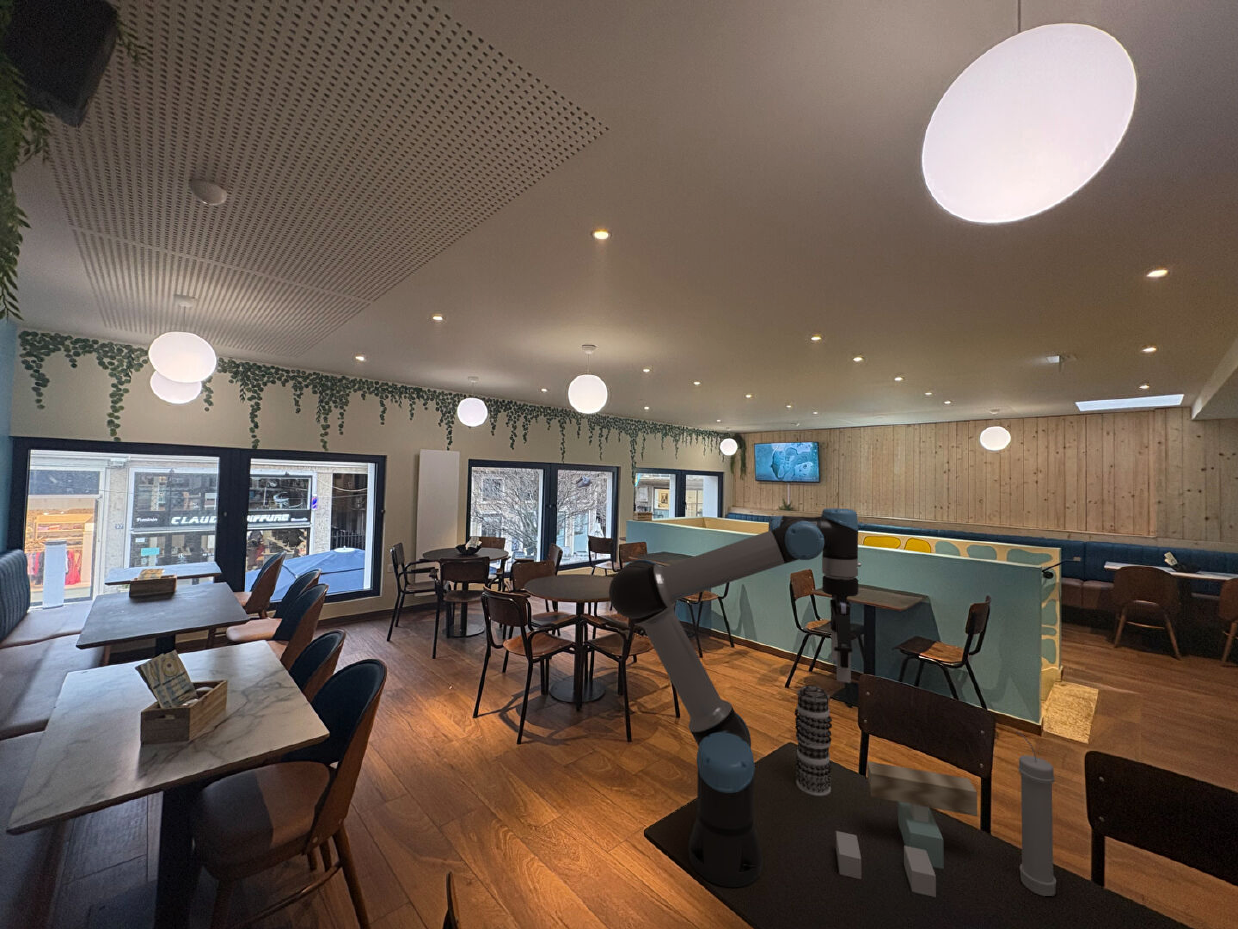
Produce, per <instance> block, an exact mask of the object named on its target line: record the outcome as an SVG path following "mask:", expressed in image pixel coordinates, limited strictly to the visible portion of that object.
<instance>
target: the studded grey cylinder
mask: <svg viewBox="0 0 1238 929" xmlns="http://www.w3.org/2000/svg"><path fill="white" fill-rule="evenodd" d="M796 694H797V705H796V707H795V709H794V716H795V718H794V720H795V726H794V728H795V729H796V732H795V738H796V740H797V750H796V751H797V753H796V756H795V759H796V762H795V764H796V769H795V773H796V776H795V778H796V782H795V783H796V785H797V787H798V788H799V789H800V790H801V791H802V792H803V793H806V794H808V795H811V796H816V797H824V796H828V795H829V794H830V793H831V790H832V787H831V786H832V785H831V784H832V781H831V780H832V774H831V771H832V768H831V765H832V761H831V760H830V753H829V752H830V751H829V750H830V747H831V742H832V737H830V736H832V731H831V729H832V727H833V724H832V723H831V722H832V721H833V719H832V717H831V716H830V707H829V704H830V702H829V700H830V698H831V697H830V695H829V694H828V693H827V692H826V691H825V689H823V688H822V687H820V686H818V685H813V684H806V685H804V686H802V687H801V688H800V689H798V690H797V691H796Z"/></svg>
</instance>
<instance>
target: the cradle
mask: <svg viewBox="0 0 1238 929" xmlns="http://www.w3.org/2000/svg"><path fill="white" fill-rule="evenodd" d="M835 840H836V841H835V851H836V857H837V858H836V859H837V865H838V872H839V875H841V876H846V877H850V878H853V879H858V880H862V857H861V856H862V855H861V851H860V850H861V849H860V846H859V841H858V836H857V834H856V835H855V834H851V833H847V832H842V831H838V830H835ZM903 865H904V866H903V867H904V869H905V872H906V875H907V878H908V883H909V886H910V889H911V891H912V893H916V894H920V895H924V896H929V897H932V898H936V897H937V876H936V874H935V870H934V867H932V865H931V862H930V860H929V857H928V854H927V852H926V850H922V849H918V848H913V847H908V846H905V845H904V846H903Z"/></svg>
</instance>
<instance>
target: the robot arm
mask: <svg viewBox="0 0 1238 929" xmlns="http://www.w3.org/2000/svg"><path fill="white" fill-rule="evenodd" d="M858 522H859V520H858V512H856V511H855V510H854V509H850V508H839V507H837V508H834V507H833V508H832V507H831V508H826V507H825V508H824V509H822V513H821V516H797V515H796V516H794V515H792V516H791V515H790V516H789V515H773V516H770V518H769V520H768V531H765V532H761V533H759V534H757V535H752V536H749V537H748V538H747V537H746V538H743V539H741V540H739V541H737V542H736V541H735V542H733V543H730V544H728V545H727V544H726V545H724V546H721V547H718V548H715V549H712V550H710V551H706V552H704V553H701V554H697V555H695V556H692V557H689V558H686V559H683V560H681V561H677V562H675V563H671V564H669V565H666V566H663V567H662V566H660V565H659V564H658V563H656V562H654V561H652V560H650V559H644V558H643V559H641V558H640V559H636V560H633V561H630V562H629V563H627V564H625V565H624V566H623V567H622V569H621V570H620V571H618V572H617V573H616V574H615V575H614V577H613V578H612V579H611V582H610V584H609V587H608V596H609V597H608V598H609V600H610V604H611V606H612V607H613V609H614V610H615V611H616V612H617V613H618V614H619V615H621V616H622V617H625V618H628V619H631V621H632V622H633V624H634V625H635V626H639V627H641V628H643V630H644V633H645V634H646V636H647V638H648V639H649V641H650V643H651V645H652V648H653V649H654V650H655V652H656V655H657V657H658V659H659V661H660V662H661V664H662V666H663V668H664V670H665V672H666V674H667V675H668V678H669V679H670V682H671V683H672V685H673V687H674V689H675V690H676V691H675V692H677V695H678V696H679V698H680V700H681V702H682V704H683V706H684V708H685V709H686V712H687V714H688V715H689V721H688V729H689V731H690V733H691V735H692V737H693V738H694V741H695V743H696V744H697V746H698V747H697V754H696V766H697V785H696V786H697V794H696V795H697V800H696V801H697V804H696V805H697V807H696V808H697V811H696V812H697V815H696V820H695V822H694V824H693V828H692V830H691V834H690V836H689V837H690V838H689V842H688V858H689V861H690V864H691V865H692V868H693V869H694V870H695V872H696V873H697V874H698V875H700V876H701V877H702V878H703V879H705V880H706V881H708V882H710V883H712V884H714V885H717V886H720V887H726V888H742V887H746V886H748V885H750V884H753V883H754V882H755V881H757V879H758V878H759V877H760V875H761V873H762V872H763V871H762V870H763V851H762V848H761V845H760V842H759V838H758V835H757V832H756V828H755V824H754V815H755V814H754V810H755V809H754V806H755V805H754V803H755V802H754V798H755V797H754V796H755V795H754V794H755V793H754V783H755V782H754V781H755V779H754V774H755V766H756V765H755V758H754V753H753V751H752V738H751V733H750V731H749V727H748V726H747V724H746V722H745V720H744V719H743V717H742V716H740V715H739V714H738V713H737V712H736V711H735V709H734V708H733V706H732V704H731V702H729V701H727V700H723V699H722V698H721V696H720V695H719V693H718V691H717V689H716V687H715V685H714V684H713V682H712V681H713V680H711V678H710V676H709V674H708V673H707V670H706V669H705V666H704V665H703V662H702V661H701V659H700V657H699V656H698V654H697V652H696V649H695V648H694V646H693V643H692V642H691V641H690V639H689V637H688V635H687V633H686V631H685V629H684V627H683V625H682V624H681V622H680V619H679V618H678V616H677V614H676V612H675V606H676V601H678V600H681V599H683V598H687V597H689V596H692V595H695V594H699V593H702V592H704V591H705V592H706V591H707V590H711V589H713V588H717V587H719V586H722V585H723V586H724V585H725V584H728V583H731V582H735V581H737V580H740V579H743V578H747V577H750V576H753V575H756V574H758V573H761V572H765V571H768V570H769V569H770V570H771V569H773V568H777V567H780V566H782V565H785V564H790V563H793V562H796V561H798V560H799V561H800V560H801V561H804V560H805V561H809V560H813V559H815V558H818V556H820V554H821V553H822V555H821V556H822V557H821V572H822V574H824V575H822V586H821V587H822V589H821V590H822V591H823V593H825V594H827V595H830V596H831V599H830V601H829V603H830V604H829V605H830V622H829V624H830V630H831V631H830V634H831V635H830V638H831V639H830V640H831V643H830V649H831V650H830V652H831V653H830V654H831V655H830V657H831V658H830V659H831V660H832V661H833V660H834V661H836V682H842V683H848V684H851V683H852V659H851V658H852V657H851V656H852V652H853V647H852V645H853V644H852V632H851V609H852V607H851V605H852V604H851V603H850V601H849V600H848V598H849V597H856V596H857V595H858V594H859V579H858V577H857V576H859V568H860V567H862V563H861V562H859V556H858V555H859V553H858V552H859V523H858Z"/></svg>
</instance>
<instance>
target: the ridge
mask: <svg viewBox="0 0 1238 929" xmlns="http://www.w3.org/2000/svg"><path fill="white" fill-rule="evenodd" d="M897 812H898V813H897V815H898V816H897V818H898V819H897V821H898V823H897V824H898V827H899V831H900V833H901V836H902V840H903V843H904V846H908V847H913V848H918V849H922V850H926V852H927V854H928V857H929V860H930V862H931V865H932V867H933V868H936V869H942V870H944V869H945V868H944V857H945V856H944V854H945V853H944V838H943V835H942V833H941V831H940V828H939V827H938V826H939V825H938V824H937V822H936V819H935V816H933V813H932V811H931V808H930V807H925V806H920V805H914V804H909V803H904V802H899V801H897Z"/></svg>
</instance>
